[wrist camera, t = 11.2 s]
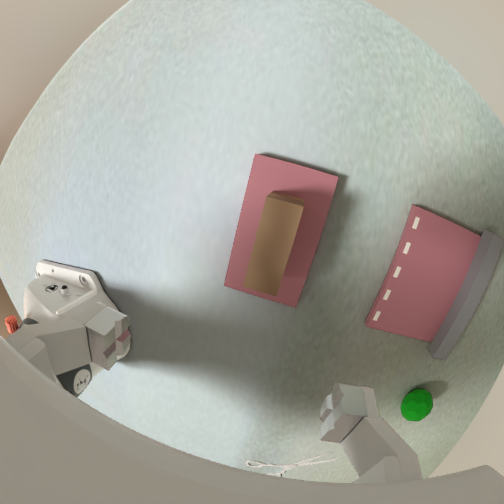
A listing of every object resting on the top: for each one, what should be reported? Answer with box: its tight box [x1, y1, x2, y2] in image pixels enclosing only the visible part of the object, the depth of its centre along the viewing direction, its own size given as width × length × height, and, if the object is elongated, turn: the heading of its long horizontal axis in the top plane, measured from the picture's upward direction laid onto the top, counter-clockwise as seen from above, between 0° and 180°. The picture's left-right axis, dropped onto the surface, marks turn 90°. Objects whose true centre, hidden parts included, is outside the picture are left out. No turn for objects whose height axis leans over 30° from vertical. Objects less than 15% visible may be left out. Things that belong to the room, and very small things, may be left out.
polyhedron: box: [401, 389, 433, 421], centre depth 28 cm, size 5×5×5 cm
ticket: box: [365, 204, 504, 360], centre depth 24 cm, size 14×16×3 cm
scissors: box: [246, 453, 338, 477], centre depth 41 cm, size 11×1×20 cm
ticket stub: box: [224, 154, 339, 308], centre depth 25 cm, size 8×14×6 cm, turn 166°
